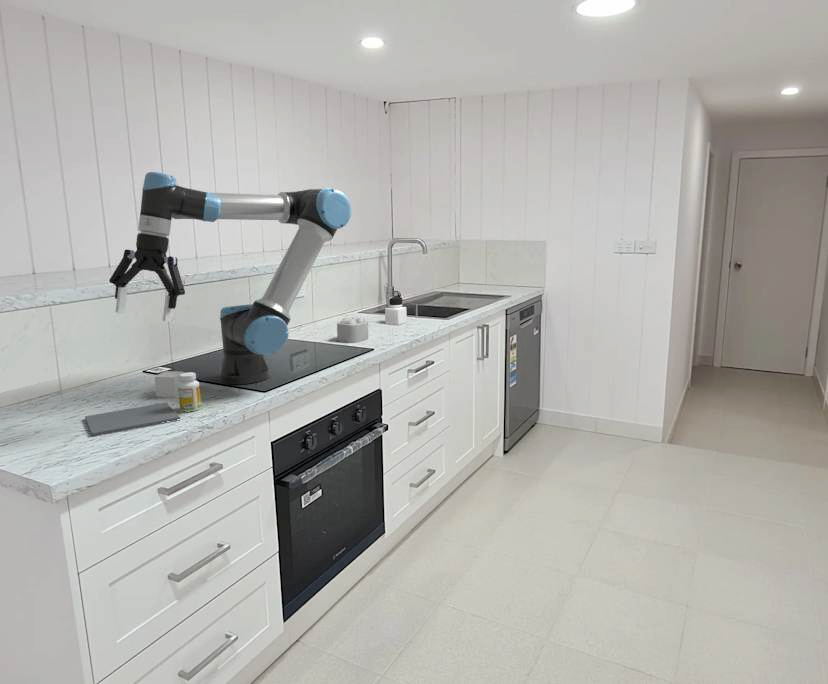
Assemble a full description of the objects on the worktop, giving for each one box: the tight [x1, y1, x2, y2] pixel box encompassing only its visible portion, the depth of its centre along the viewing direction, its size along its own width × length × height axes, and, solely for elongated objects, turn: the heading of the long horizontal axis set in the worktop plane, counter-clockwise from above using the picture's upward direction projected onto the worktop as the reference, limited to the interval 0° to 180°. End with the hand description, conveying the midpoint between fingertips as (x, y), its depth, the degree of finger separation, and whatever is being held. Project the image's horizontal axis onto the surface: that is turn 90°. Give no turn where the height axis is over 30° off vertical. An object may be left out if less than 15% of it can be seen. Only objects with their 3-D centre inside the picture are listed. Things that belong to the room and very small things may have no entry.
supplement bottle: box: [178, 371, 202, 413], centre depth 168 cm, size 5×5×10 cm
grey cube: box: [153, 370, 185, 398], centre depth 182 cm, size 6×6×6 cm
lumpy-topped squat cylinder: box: [336, 316, 369, 344], centre depth 252 cm, size 10×13×9 cm
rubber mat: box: [84, 401, 181, 437], centre depth 161 cm, size 20×15×1 cm
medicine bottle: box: [384, 296, 408, 326], centre depth 284 cm, size 7×7×12 cm
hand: (143, 316), depth 163 cm, fingers open, 13 cm apart
